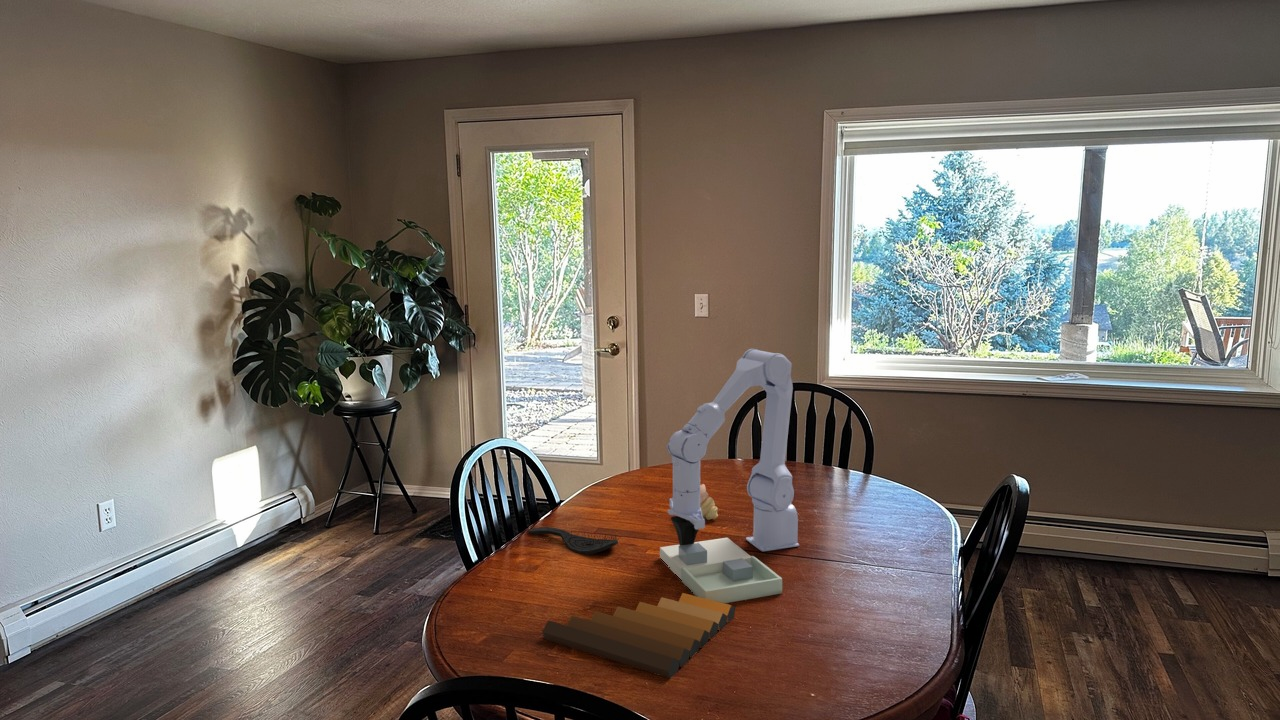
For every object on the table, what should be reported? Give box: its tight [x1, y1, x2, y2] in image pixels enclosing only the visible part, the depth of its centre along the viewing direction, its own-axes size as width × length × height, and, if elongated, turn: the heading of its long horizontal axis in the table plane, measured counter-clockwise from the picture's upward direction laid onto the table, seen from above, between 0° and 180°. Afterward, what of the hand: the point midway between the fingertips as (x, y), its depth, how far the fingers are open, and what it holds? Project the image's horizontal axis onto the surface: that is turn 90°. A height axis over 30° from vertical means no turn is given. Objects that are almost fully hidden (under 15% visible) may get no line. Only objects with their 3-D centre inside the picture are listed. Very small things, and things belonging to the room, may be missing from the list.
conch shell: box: [700, 483, 719, 521], centre depth 196 cm, size 9×10×10 cm
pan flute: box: [541, 592, 736, 679], centre depth 142 cm, size 25×3×25 cm
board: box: [659, 537, 752, 580], centre depth 170 cm, size 16×12×2 cm
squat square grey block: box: [723, 558, 753, 582], centre depth 162 cm, size 4×4×2 cm
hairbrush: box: [528, 526, 619, 556], centre depth 182 cm, size 8×4×25 cm
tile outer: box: [679, 543, 707, 565], centre depth 166 cm, size 4×4×2 cm
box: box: [680, 555, 783, 604], centre depth 158 cm, size 16×12×3 cm
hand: (686, 550), depth 169 cm, fingers closed
